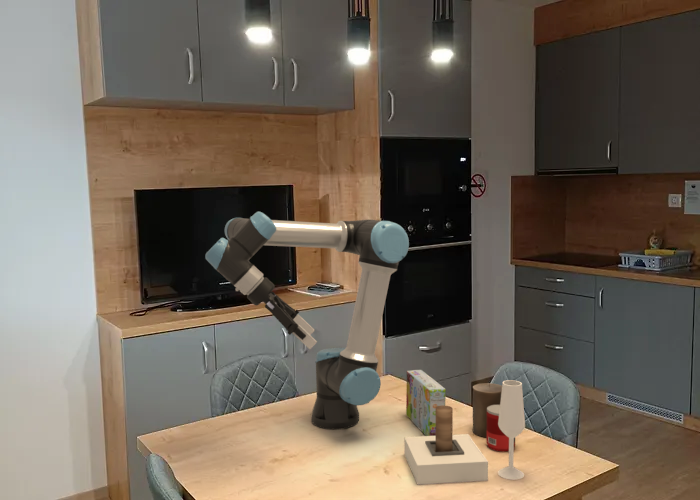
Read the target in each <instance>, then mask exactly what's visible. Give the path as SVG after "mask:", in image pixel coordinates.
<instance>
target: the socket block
mask: <svg viewBox="0 0 700 500" xmlns="http://www.w3.org/2000/svg"><path fill="white" fill-rule="evenodd" d="M403 443H404V445H403V446H404V458H405V459H406V462H407V464H408V467H409V468H410V470H411V474H412V475H413V478H414V480H415V482H416V484H417V485H432V484H433V485H434V484H436V485H437V484H451V483H453V484H455V483H468V482H486V481H487V482H488V481H489V460H488V459H487V457H486V456H485V455H484V454H483V452H482V451H481V450H480V448H479V447H478V446H477V444H476V443H475V441H474V440H473V439H472V437H471V435H470V434H469V433H461V434H452V451H449V452H436V436H426V435H422V436H404V441H403Z"/></svg>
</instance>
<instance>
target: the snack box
mask: <svg viewBox="0 0 700 500" xmlns="http://www.w3.org/2000/svg"><path fill="white" fill-rule="evenodd" d="M446 395H447V394H446V388H445V387H443V386H442V385H441V384H440V383H439V382H437V381H436V380H435V379H434V378H432V377H431V376H429V375H428V374H427V373H426V372H425V371H423V369H413V370H406V401H405V403H406V406H405V408H406V410H405V413H406V414H405V415H406V417H407V418H409V420H410V421H411V422H412V423H413V424H414V425H415V426H416V427H417V428H418V429H419V430H420V432H422V433H423V435H424V436H436V407H437V406H441V405H445V406H446V398H447V397H446Z"/></svg>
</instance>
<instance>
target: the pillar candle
mask: <svg viewBox="0 0 700 500" xmlns="http://www.w3.org/2000/svg"><path fill="white" fill-rule="evenodd" d="M472 389H473V390H472V432H473V434H475V435H476V436H479V437H483V438H486V436H487V407H489V406H491V405H500V402H501V393H502V385H501V384H499V383H498V384H497V383H491V382H490V383H489V382H487V383H484V382H483V383H477V384H474V385H473V386H472Z"/></svg>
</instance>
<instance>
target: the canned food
mask: <svg viewBox="0 0 700 500" xmlns="http://www.w3.org/2000/svg"><path fill="white" fill-rule="evenodd" d="M499 411H500V405H491V406H489V407H487V436H486V437H485V438H486V439H485V440H486V441H485V442H486V446H487V448H488V449H490V450H492V451H494V452H502V453H506V452H509V437H507V436H506V435H505V434H504V433H503V432H502V431H501V430H500V428H499V426H498V420H499ZM515 447H516V437H515V438H514V448H515Z"/></svg>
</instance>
